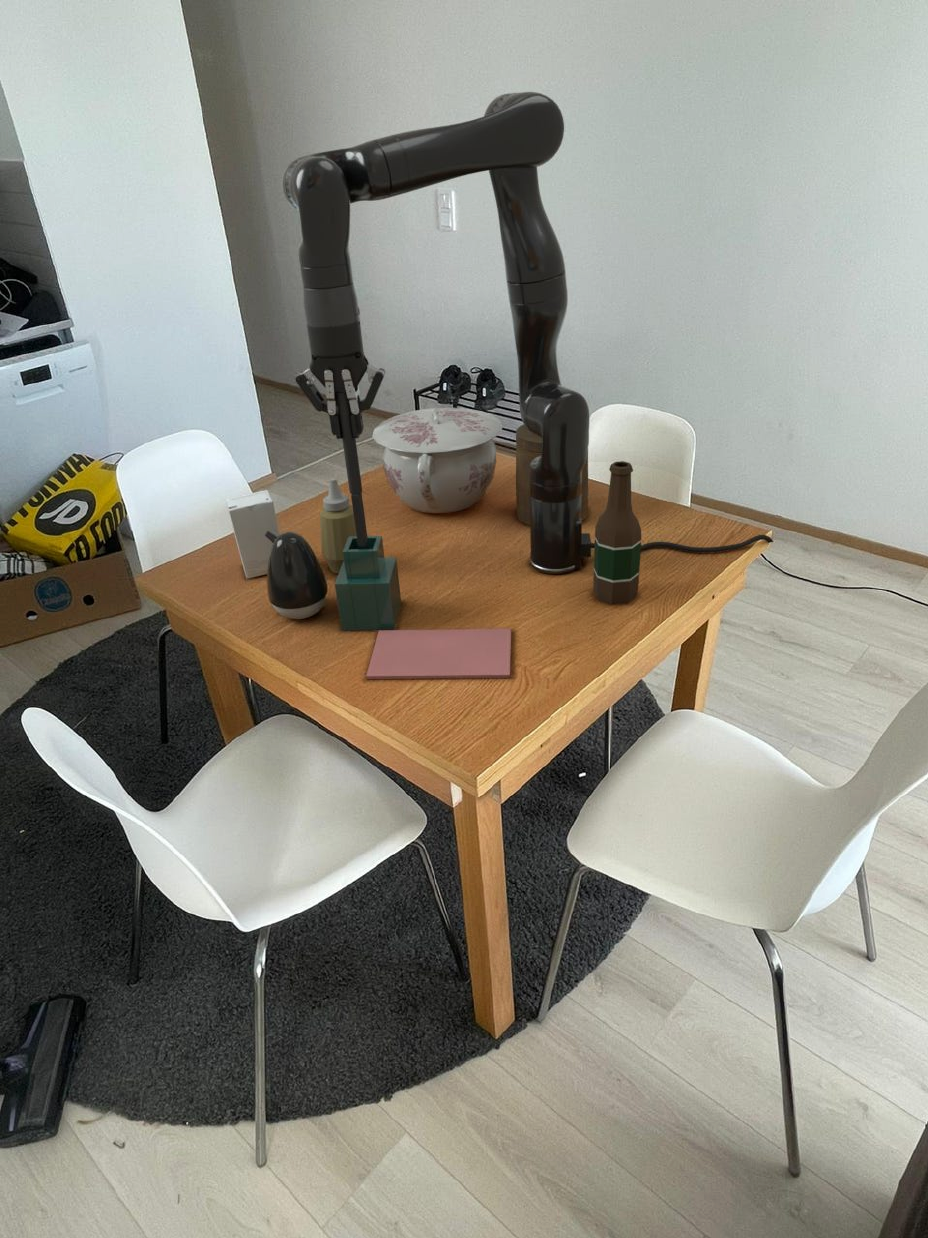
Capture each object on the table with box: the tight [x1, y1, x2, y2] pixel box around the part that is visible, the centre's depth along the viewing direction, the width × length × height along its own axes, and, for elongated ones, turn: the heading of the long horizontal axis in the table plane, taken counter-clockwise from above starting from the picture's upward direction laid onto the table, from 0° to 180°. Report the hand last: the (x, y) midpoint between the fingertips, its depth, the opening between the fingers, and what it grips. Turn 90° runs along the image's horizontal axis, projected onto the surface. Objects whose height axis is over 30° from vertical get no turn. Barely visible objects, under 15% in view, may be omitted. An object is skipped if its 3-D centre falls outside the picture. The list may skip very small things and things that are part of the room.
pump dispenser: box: [265, 531, 329, 620], centre depth 141 cm, size 10×10×15 cm
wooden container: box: [515, 423, 590, 526], centre depth 168 cm, size 15×15×22 cm
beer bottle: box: [592, 460, 642, 606], centre depth 138 cm, size 8×8×24 cm
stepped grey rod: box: [336, 390, 368, 547], centre depth 128 cm, size 2×3×25 cm
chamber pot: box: [372, 406, 503, 514], centre depth 177 cm, size 28×28×21 cm
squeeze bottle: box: [319, 477, 357, 574], centre depth 153 cm, size 8×8×18 cm
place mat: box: [365, 628, 512, 680], centre depth 131 cm, size 22×13×1 cm, turn 86°
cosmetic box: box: [225, 489, 281, 580], centre depth 156 cm, size 8×6×15 cm
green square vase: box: [334, 535, 402, 631], centre depth 139 cm, size 9×9×14 cm
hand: (348, 436), depth 125 cm, fingers closed on stepped grey rod, 2 cm apart
